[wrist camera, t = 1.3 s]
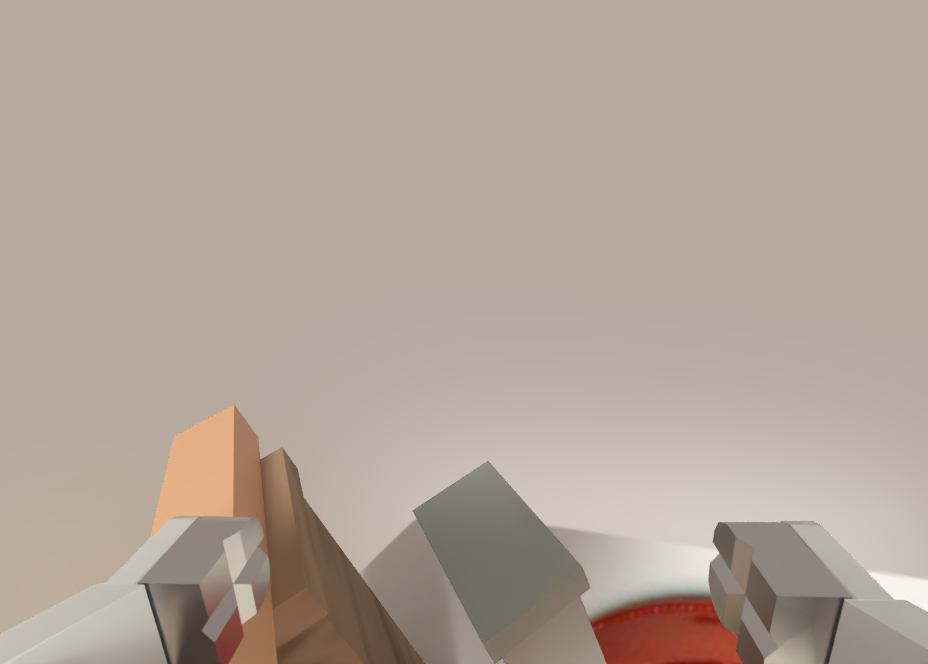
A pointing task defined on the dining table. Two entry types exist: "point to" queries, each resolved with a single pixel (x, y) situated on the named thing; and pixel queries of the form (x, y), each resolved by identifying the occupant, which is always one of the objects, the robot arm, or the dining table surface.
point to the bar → (221, 501)
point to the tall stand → (319, 585)
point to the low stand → (510, 573)
